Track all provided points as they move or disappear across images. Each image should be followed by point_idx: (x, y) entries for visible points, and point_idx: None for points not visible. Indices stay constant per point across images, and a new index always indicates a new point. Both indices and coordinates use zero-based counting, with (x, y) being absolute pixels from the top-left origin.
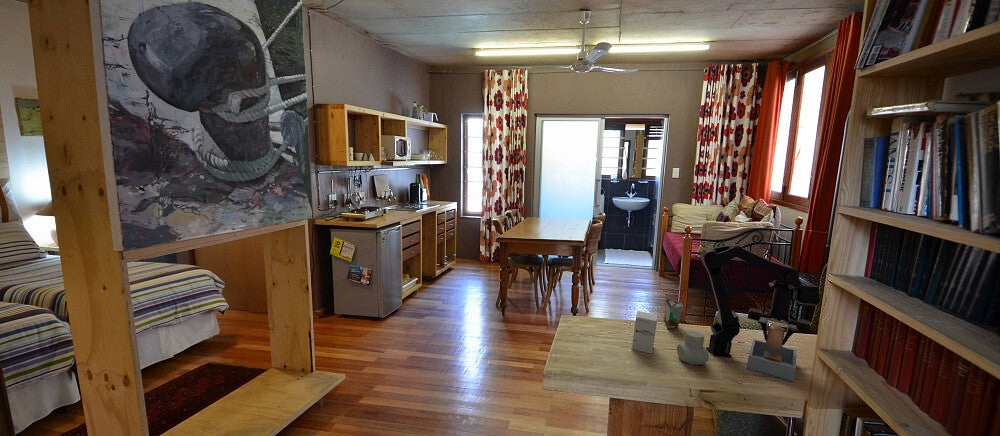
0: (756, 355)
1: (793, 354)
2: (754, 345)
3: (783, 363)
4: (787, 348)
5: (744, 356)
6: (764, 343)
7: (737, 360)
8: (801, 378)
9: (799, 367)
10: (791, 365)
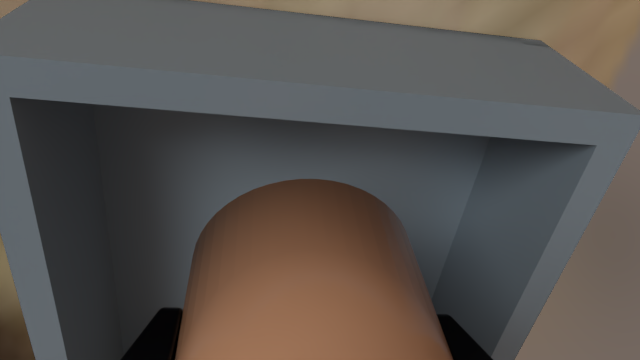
0: (138, 140)
1: (529, 268)
2: (51, 116)
3: (407, 174)
4: (518, 134)
5: None
6: (176, 103)
7: (11, 307)
8: None
9: None
10: (473, 194)
